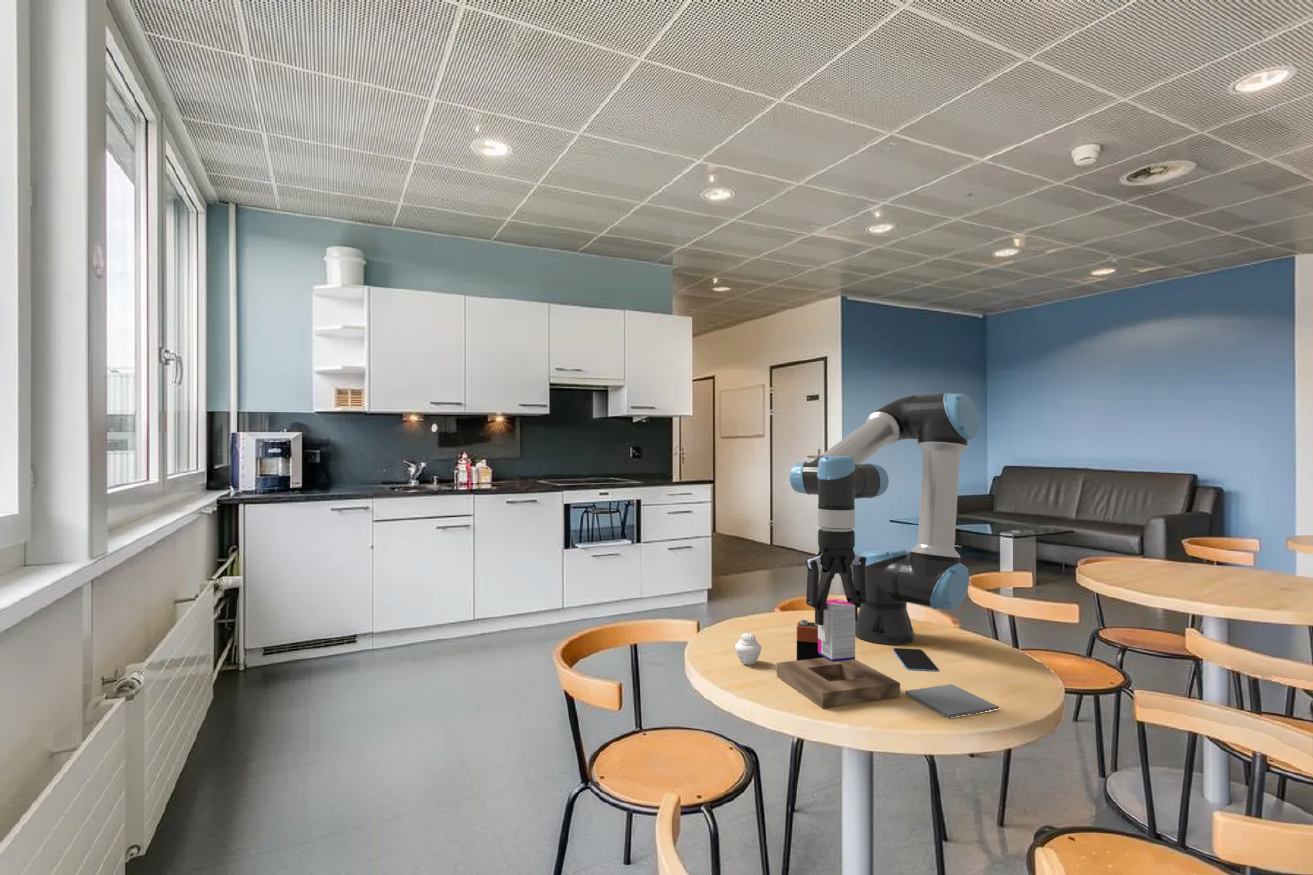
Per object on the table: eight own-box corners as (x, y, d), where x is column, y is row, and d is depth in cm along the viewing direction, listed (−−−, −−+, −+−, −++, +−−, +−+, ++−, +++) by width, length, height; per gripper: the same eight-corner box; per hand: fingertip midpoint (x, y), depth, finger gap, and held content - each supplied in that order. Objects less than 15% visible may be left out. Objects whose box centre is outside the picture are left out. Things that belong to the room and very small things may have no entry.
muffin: (730, 660, 151) (730, 630, 151) (753, 657, 153) (753, 627, 154) (742, 668, 146) (742, 637, 146) (766, 665, 148) (766, 635, 148)
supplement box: (856, 659, 133) (856, 604, 133) (831, 662, 132) (831, 606, 132) (841, 650, 139) (840, 597, 139) (816, 653, 137) (816, 600, 137)
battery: (826, 668, 146) (826, 624, 146) (796, 665, 148) (796, 622, 148) (827, 662, 150) (827, 619, 150) (797, 659, 152) (797, 617, 152)
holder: (846, 668, 146) (846, 654, 146) (899, 697, 129) (899, 682, 129) (776, 676, 141) (776, 662, 141) (822, 708, 124) (822, 693, 124)
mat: (951, 687, 135) (951, 684, 135) (998, 710, 123) (998, 706, 123) (904, 694, 131) (904, 690, 131) (948, 718, 119) (948, 714, 119)
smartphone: (906, 668, 145) (891, 647, 160) (906, 672, 145) (891, 650, 160) (940, 669, 144) (922, 648, 159) (940, 673, 144) (922, 652, 159)
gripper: (862, 524, 142) (863, 629, 142) (787, 528, 136) (788, 637, 136) (884, 529, 135) (885, 639, 135) (806, 533, 129) (807, 648, 129)
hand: (836, 638), depth 135 cm, fingers closed on supplement box, 6 cm apart
